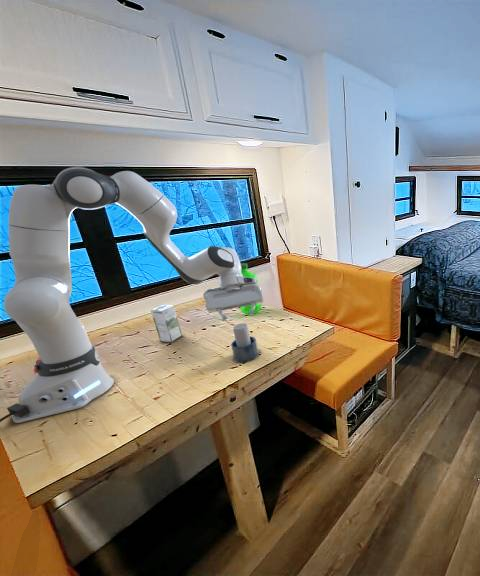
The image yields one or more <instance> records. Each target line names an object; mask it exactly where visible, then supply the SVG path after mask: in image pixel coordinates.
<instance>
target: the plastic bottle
mask: <svg viewBox="0 0 480 576" xmlns="http://www.w3.org/2000/svg"><path fill="white" fill-rule="evenodd" d="M240 264H241V268H242V269H241V273H242V275H243V277H251V278H255V279H256V282H257V283H258V277H257V275H256V274H255V273H253V272H251V271H249V270H248V269H249V266H248V263H247V262H242V263H240ZM239 308H240V311H241V313H244V314H246V315H248V316H251V315H250V313H249V310H251V309H252V306H251V305H249V306H244V307H239ZM261 308H262V303H259V304H255V309H254V311H253V312H254V315H255V314H258V312H259V311H260V310H261Z"/></svg>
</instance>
